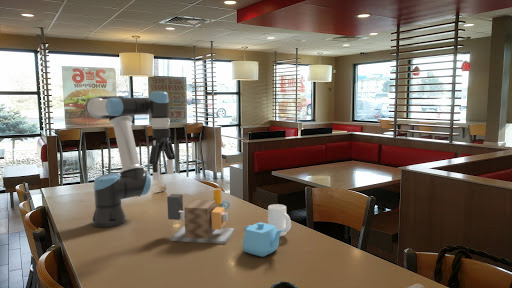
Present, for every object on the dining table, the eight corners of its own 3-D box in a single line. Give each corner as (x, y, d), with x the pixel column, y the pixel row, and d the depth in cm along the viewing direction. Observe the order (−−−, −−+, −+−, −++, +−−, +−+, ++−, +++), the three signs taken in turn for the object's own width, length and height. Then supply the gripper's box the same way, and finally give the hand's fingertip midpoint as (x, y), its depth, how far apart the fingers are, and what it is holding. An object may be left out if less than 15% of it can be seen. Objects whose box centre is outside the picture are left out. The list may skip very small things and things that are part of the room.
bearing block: (170, 240, 159) (168, 208, 157) (184, 227, 175) (183, 198, 173) (225, 243, 155) (224, 210, 153) (234, 230, 170) (233, 200, 169)
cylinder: (224, 223, 180) (224, 192, 178) (203, 222, 182) (203, 191, 180) (231, 215, 192) (230, 186, 190) (211, 214, 194) (211, 186, 192)
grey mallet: (168, 219, 164) (167, 196, 163) (172, 215, 169) (171, 194, 168) (226, 222, 159) (225, 199, 158) (229, 218, 164) (228, 196, 163)
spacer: (211, 229, 160) (211, 212, 159) (216, 223, 167) (216, 207, 166) (220, 229, 159) (220, 212, 158) (225, 223, 166) (225, 207, 165)
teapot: (274, 263, 135) (274, 233, 134) (235, 252, 146) (235, 223, 145) (292, 252, 145) (292, 223, 144) (254, 242, 156) (254, 215, 155)
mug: (283, 240, 157) (283, 212, 156) (264, 233, 166) (263, 206, 165) (296, 235, 163) (296, 208, 161) (277, 228, 172) (277, 203, 170)
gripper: (155, 129, 149) (158, 182, 151) (180, 126, 173) (183, 171, 175) (138, 130, 150) (141, 182, 153) (165, 126, 175) (168, 171, 177)
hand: (163, 176), depth 164 cm, fingers open, 13 cm apart
